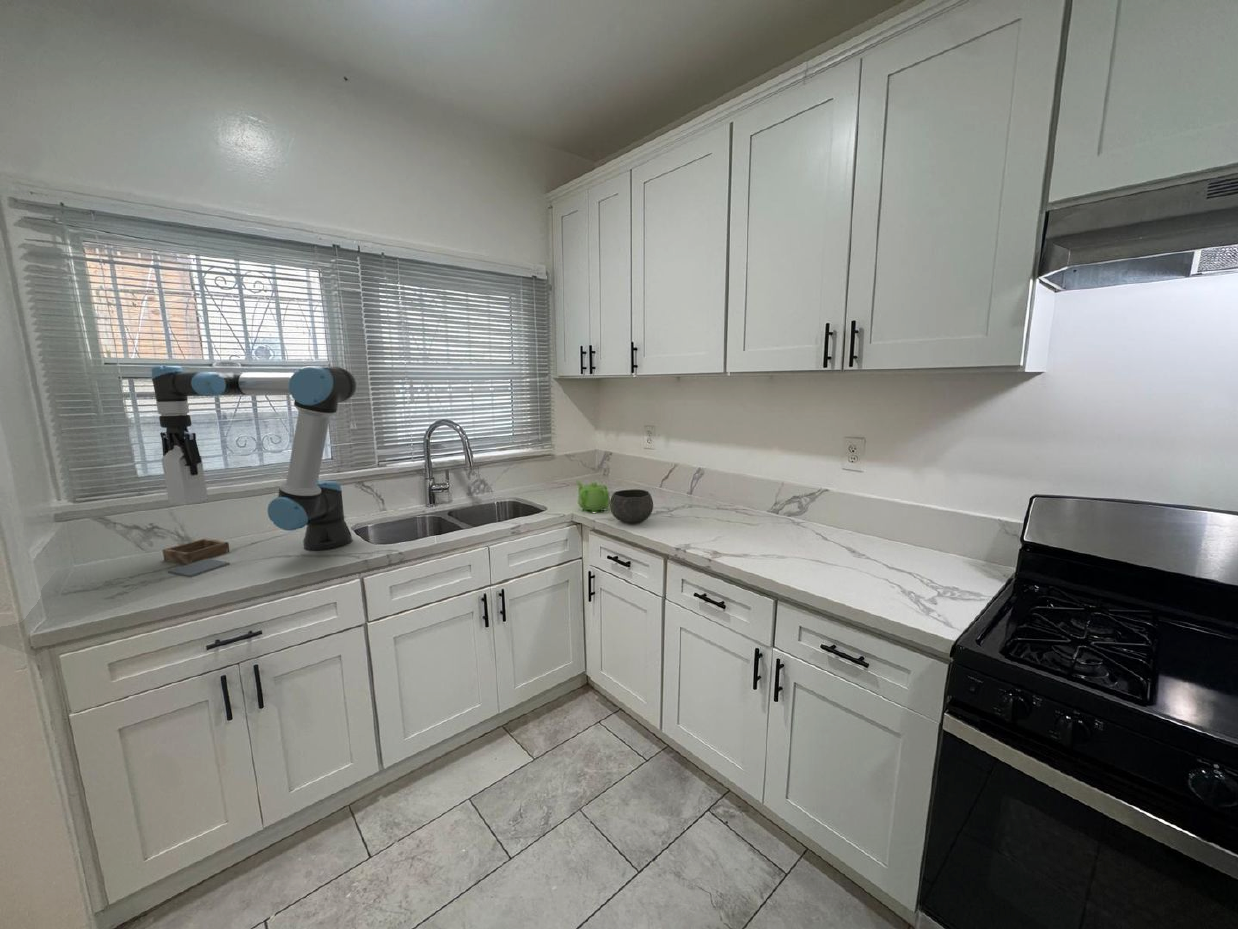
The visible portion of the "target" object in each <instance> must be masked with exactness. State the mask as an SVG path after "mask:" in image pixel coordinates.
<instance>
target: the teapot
mask: <svg viewBox="0 0 1238 929" xmlns="http://www.w3.org/2000/svg"><path fill="white" fill-rule="evenodd" d="M575 482H576V483H577V485H578V498H577V504H578V505H579V507H580V508H581V509H582V510H587V511H588V510H589V511H591V513H592V512H597V513H598V511H602V510H601V509H606V510H607V508H609V507H610V500H611V497H610V494H609V491H608V487H607V486H606V485H605V484H602V485H601V484H598V482H595V481H594V482H590V484H586V485H584V486H583V484H582V483H581V481H579V480H575ZM582 510H581V511H582Z"/></svg>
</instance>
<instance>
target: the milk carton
mask: <svg viewBox="0 0 1238 929" xmlns="http://www.w3.org/2000/svg"><path fill="white" fill-rule="evenodd" d="M183 455H184V454H183V453H182V451H181V449H180V447H179V446H177V445H174V449H172V450H171V451H170V450H169V452H168V453H167V454H166V455H165V456H164V457H163V456H162V457H161V464H162V471H163V476H164V482H165V487H166V494H167V499H168V504H169V505H185V506H187V505H191V504H194V503H199V502H202V501H208V500H209V495H208V490H207V482H206V479H205V478H206V477H205V476H206V475H205V471H204V465H203V458H202V455H200V458H201V463H198V465H197V470H198V476H199V482H200V484H197V485H192V486H189V484H188V478H187V472H186V466H185V464H187V463H186V460H185V458H184V456H183Z"/></svg>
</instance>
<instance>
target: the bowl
mask: <svg viewBox="0 0 1238 929" xmlns="http://www.w3.org/2000/svg"><path fill="white" fill-rule="evenodd" d="M609 509H610V513H611V514H612V516H613V517H614V518H615V519H616V520H618V521H619V522H621V523H625V524H627V523H628V524H627V525H637V524H636V523H638V524H641V523H643V522H644V521H646V520H648V519H649V517H650V516H651V514H652V513H653V509H654V500H653V498H652V494H651V493H650V492H649V491H647V490H645V489H637V488H634V489H622V490H617V491H615V492H613V493H612V495H611V497H610V504H609Z"/></svg>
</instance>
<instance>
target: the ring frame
mask: <svg viewBox="0 0 1238 929" xmlns="http://www.w3.org/2000/svg"><path fill="white" fill-rule="evenodd" d="M230 552H231V551H230V544H229V542H228V541H222V540H217V539H210V538H202V539H198V540H195V541H190V542H187V543H183V544H179V545H176V546H173V547H169V548H165V549H162V554H163V560H164V561H167V562H173V563H178V564H184V565H187V564H191V563H194V562H197V561H200V560H204V559H207V558H208V559H212V558H215V557H218V556H221V555H224V554H228V553H230Z"/></svg>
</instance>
